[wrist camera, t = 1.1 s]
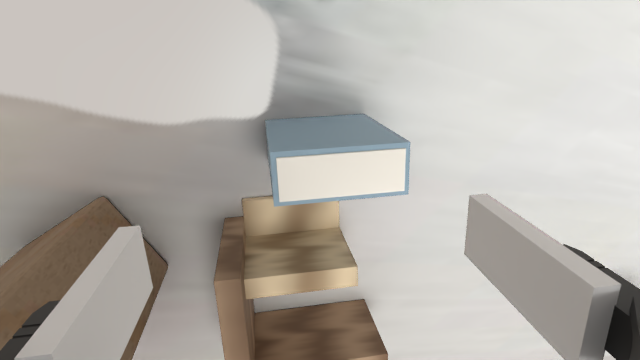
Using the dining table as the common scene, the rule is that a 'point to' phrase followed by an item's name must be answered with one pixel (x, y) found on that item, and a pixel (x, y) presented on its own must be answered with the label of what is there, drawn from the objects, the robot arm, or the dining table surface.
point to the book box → (335, 159)
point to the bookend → (294, 249)
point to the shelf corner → (286, 318)
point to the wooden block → (66, 268)
